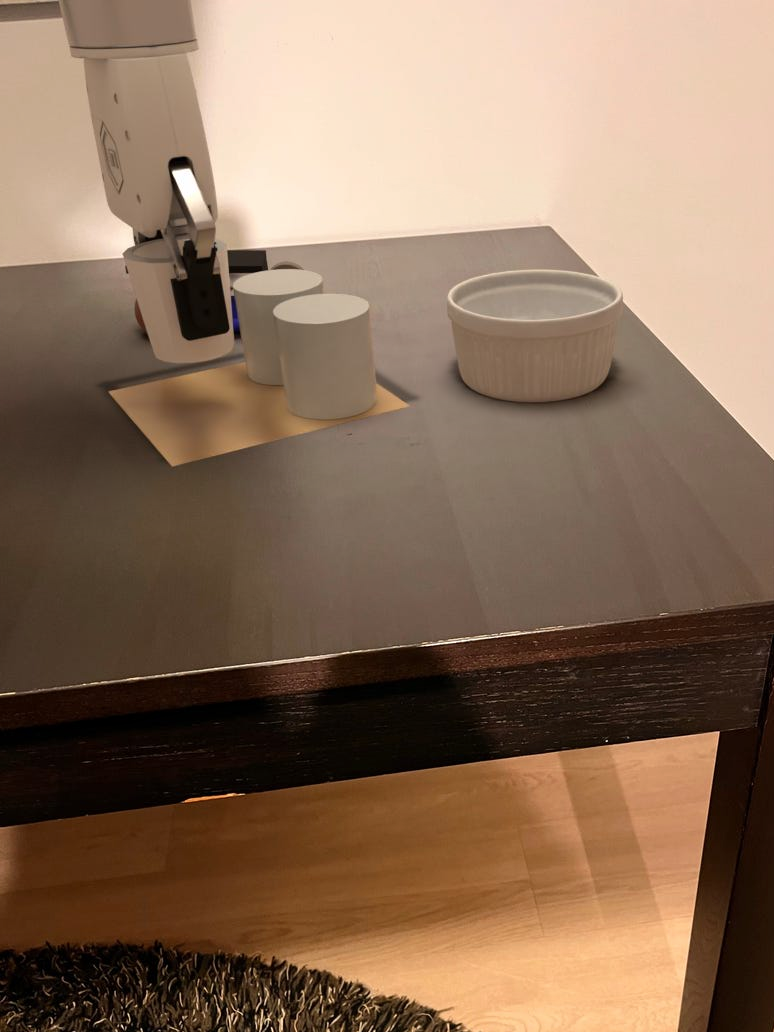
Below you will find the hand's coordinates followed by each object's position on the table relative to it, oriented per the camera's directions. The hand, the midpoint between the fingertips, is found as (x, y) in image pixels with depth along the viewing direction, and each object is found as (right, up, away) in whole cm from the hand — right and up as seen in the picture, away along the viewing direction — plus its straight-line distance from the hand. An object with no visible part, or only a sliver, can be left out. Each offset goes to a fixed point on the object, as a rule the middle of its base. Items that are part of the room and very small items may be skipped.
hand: (188, 319), depth 71 cm
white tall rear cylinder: (+5, -1, +10) cm, 12 cm away
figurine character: (-2, +5, +20) cm, 20 cm away
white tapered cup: (0, -2, +1) cm, 2 cm away
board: (+4, -5, +6) cm, 8 cm away
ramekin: (+25, -2, +9) cm, 26 cm away
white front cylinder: (+9, -5, +5) cm, 11 cm away
